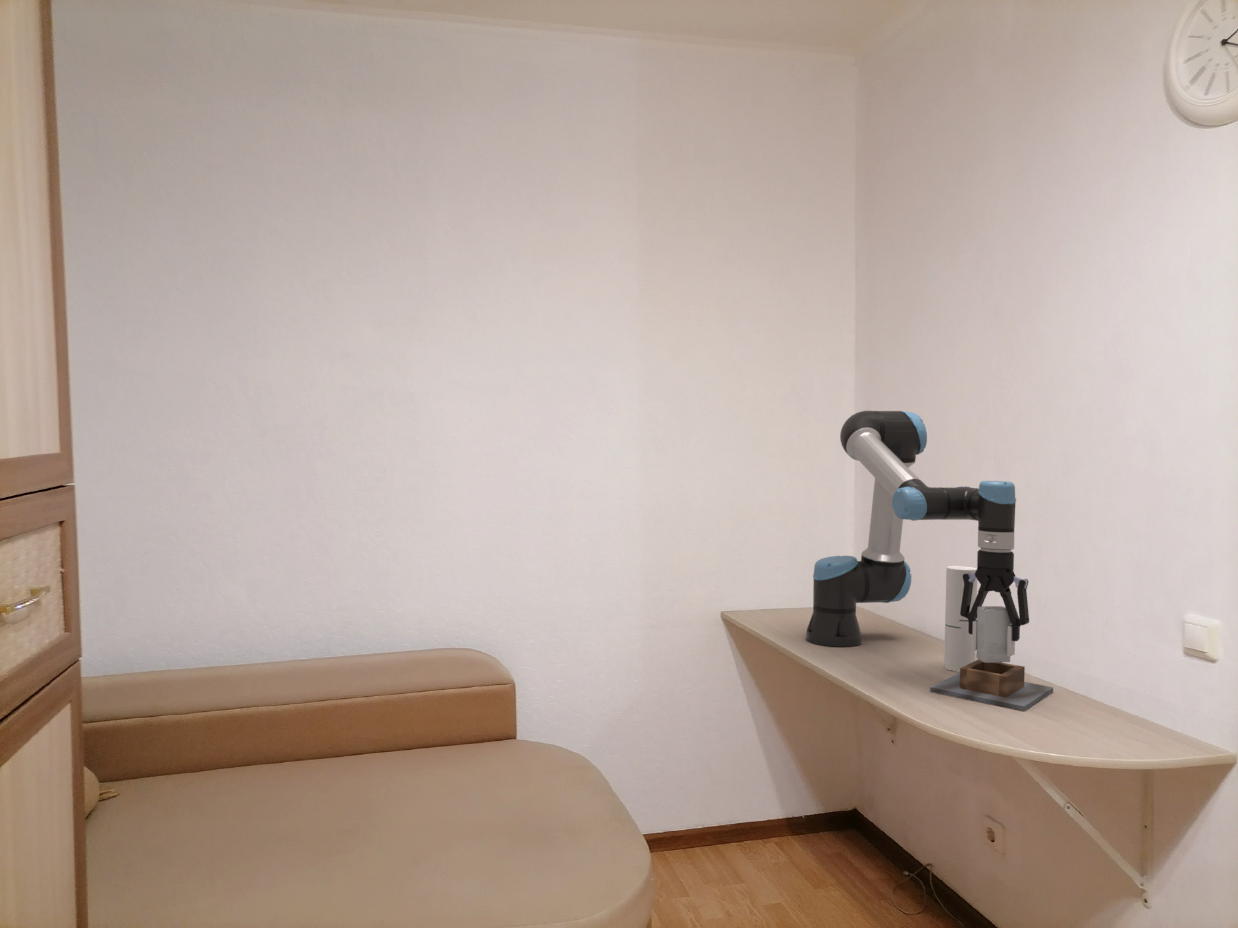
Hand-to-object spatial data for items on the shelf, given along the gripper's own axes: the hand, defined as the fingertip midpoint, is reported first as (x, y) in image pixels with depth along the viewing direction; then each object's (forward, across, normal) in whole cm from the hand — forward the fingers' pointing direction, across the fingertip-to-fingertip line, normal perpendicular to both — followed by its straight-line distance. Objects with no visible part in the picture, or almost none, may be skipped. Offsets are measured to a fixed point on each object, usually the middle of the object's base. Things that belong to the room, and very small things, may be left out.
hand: (993, 651), depth 198 cm
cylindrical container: (+9, -13, +15) cm, 22 cm away
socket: (+9, 0, 0) cm, 9 cm away
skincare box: (+2, 0, 0) cm, 2 cm away
